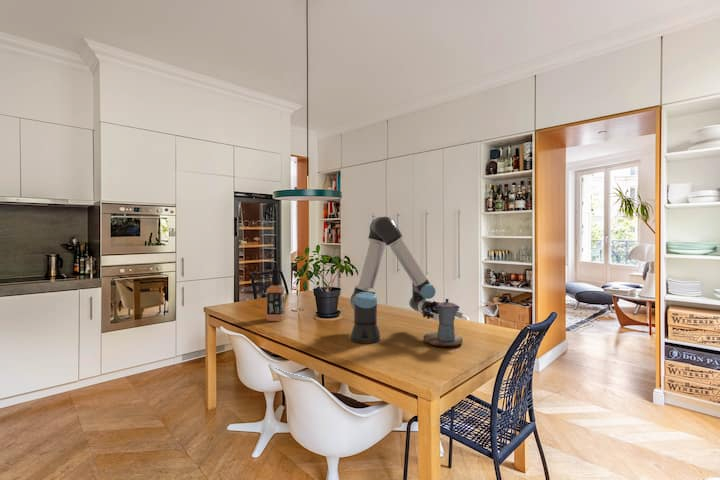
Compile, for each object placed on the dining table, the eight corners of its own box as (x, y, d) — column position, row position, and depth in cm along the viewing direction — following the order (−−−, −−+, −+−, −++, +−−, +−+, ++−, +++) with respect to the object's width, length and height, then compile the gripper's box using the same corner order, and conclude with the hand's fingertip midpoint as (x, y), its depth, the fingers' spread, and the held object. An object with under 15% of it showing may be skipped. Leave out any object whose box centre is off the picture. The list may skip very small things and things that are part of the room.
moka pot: (457, 344, 175) (456, 301, 175) (426, 339, 184) (425, 298, 183) (463, 338, 183) (462, 298, 183) (434, 334, 192) (433, 295, 191)
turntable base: (422, 342, 188) (422, 340, 188) (440, 337, 197) (440, 335, 197) (445, 349, 177) (445, 346, 177) (463, 343, 186) (463, 341, 186)
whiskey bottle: (281, 321, 230) (281, 269, 229) (265, 321, 230) (265, 269, 229) (285, 317, 240) (285, 267, 239) (270, 317, 240) (269, 267, 239)
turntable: (415, 339, 188) (415, 336, 188) (439, 332, 200) (439, 330, 200) (446, 348, 174) (446, 345, 174) (470, 340, 186) (470, 338, 186)
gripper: (447, 313, 205) (471, 322, 185) (406, 316, 197) (427, 326, 177) (447, 299, 205) (471, 307, 185) (406, 302, 196) (427, 310, 176)
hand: (450, 316), depth 181 cm, fingers open, 13 cm apart
